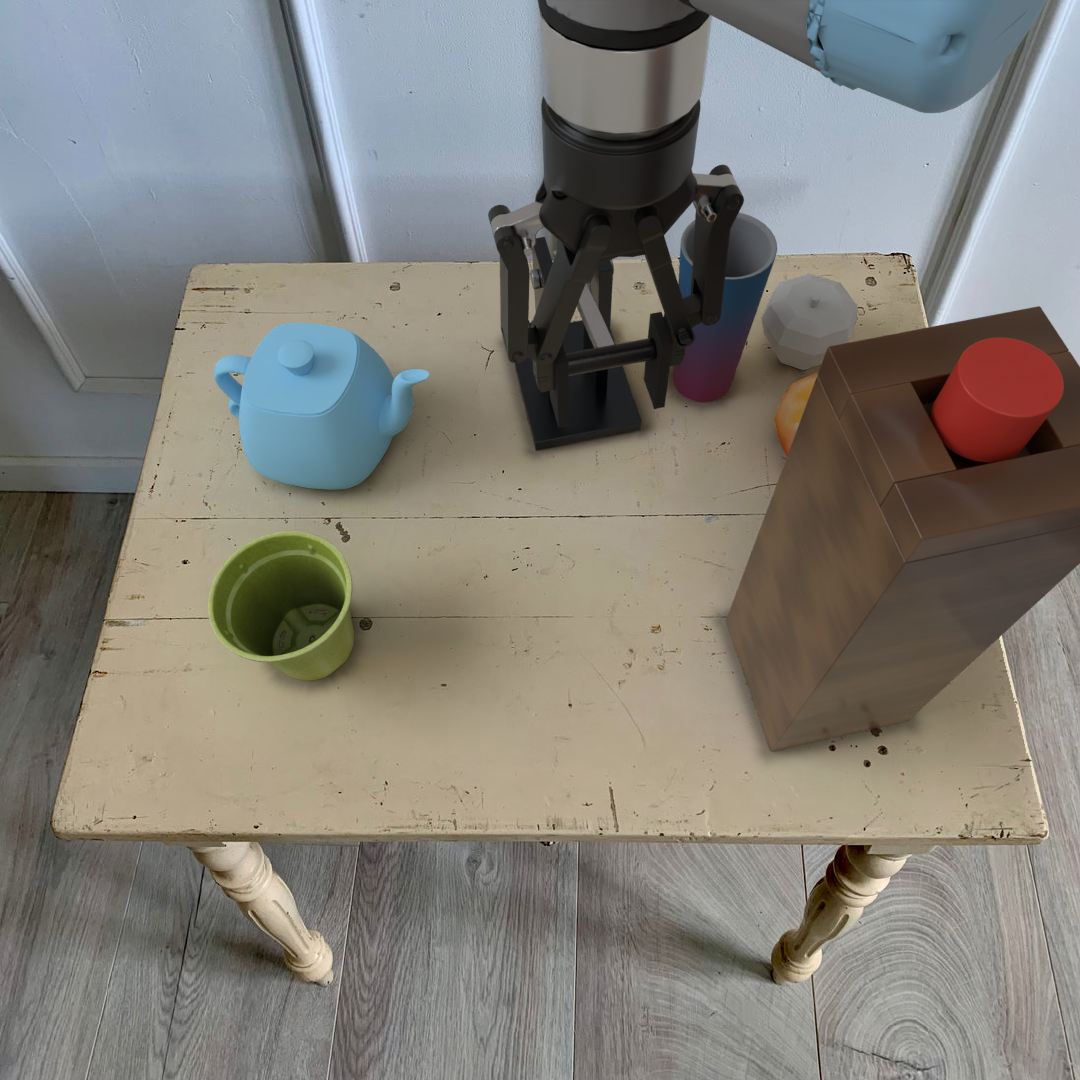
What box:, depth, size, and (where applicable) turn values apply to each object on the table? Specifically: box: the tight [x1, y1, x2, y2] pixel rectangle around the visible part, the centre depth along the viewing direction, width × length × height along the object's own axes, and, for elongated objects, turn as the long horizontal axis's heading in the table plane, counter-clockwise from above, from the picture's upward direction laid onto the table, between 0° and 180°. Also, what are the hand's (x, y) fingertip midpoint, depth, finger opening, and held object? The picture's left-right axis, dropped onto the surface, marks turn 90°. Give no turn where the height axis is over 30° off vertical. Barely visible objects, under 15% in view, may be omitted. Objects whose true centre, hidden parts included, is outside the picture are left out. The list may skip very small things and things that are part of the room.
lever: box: [552, 250, 657, 376], centre depth 61 cm, size 13×6×2 cm, turn 12°
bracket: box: [512, 236, 643, 451], centre depth 70 cm, size 12×9×15 cm
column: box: [725, 305, 1080, 752], centre depth 50 cm, size 10×10×30 cm
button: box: [931, 338, 1064, 463], centre depth 36 cm, size 4×4×3 cm
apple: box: [760, 273, 858, 371], centre depth 74 cm, size 8×8×7 cm
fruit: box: [773, 372, 818, 457], centre depth 70 cm, size 8×8×8 cm
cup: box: [672, 212, 778, 403], centre depth 70 cm, size 7×7×15 cm
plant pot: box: [207, 530, 355, 681], centre depth 62 cm, size 9×9×9 cm
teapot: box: [213, 322, 430, 491], centre depth 70 cm, size 13×11×18 cm
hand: (607, 402), depth 61 cm, fingers closed on lever, 6 cm apart
